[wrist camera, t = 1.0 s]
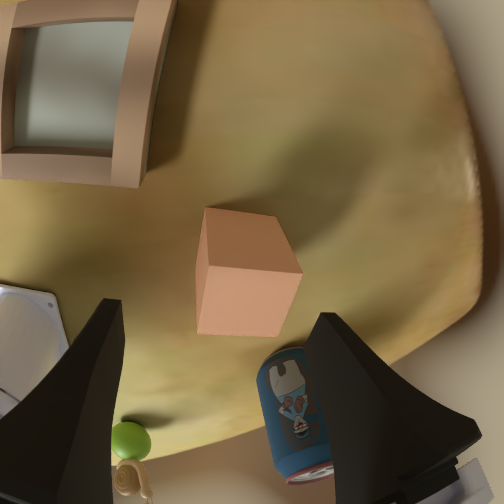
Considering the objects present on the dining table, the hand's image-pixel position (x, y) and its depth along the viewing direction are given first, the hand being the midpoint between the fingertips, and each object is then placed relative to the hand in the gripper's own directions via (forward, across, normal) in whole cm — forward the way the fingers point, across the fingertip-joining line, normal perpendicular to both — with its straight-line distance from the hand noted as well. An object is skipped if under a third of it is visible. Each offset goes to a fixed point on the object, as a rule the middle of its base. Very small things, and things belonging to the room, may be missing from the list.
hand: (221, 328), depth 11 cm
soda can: (+10, -10, +15) cm, 20 cm away
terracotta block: (+10, -2, +2) cm, 10 cm away
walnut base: (+10, +9, -7) cm, 15 cm away
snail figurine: (+10, +6, +30) cm, 32 cm away
